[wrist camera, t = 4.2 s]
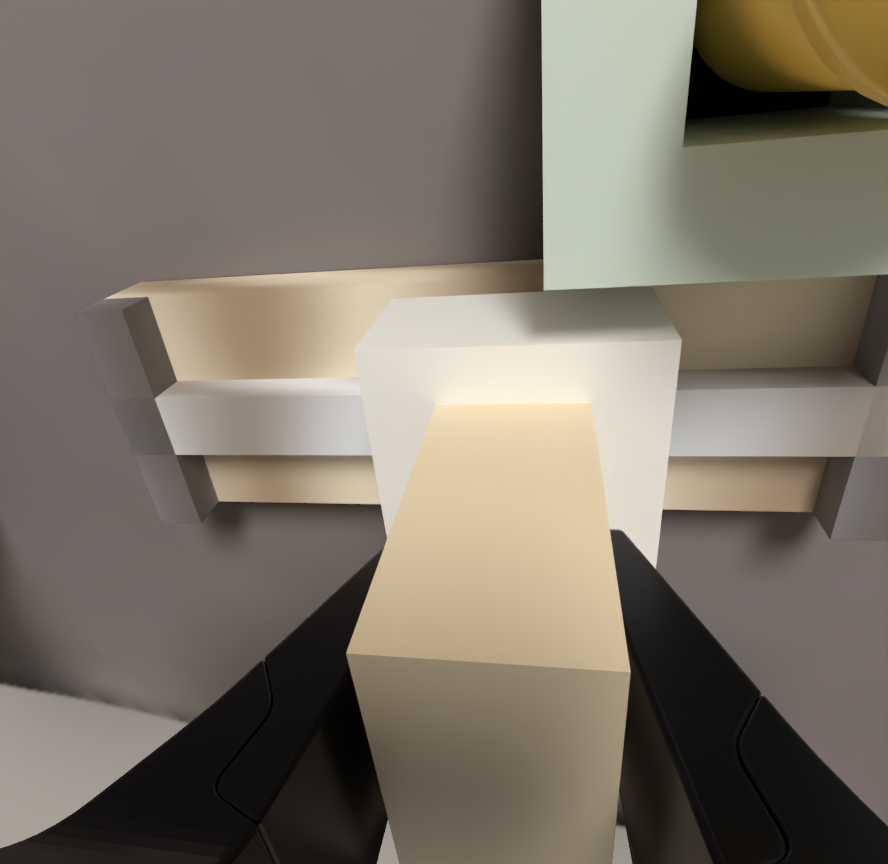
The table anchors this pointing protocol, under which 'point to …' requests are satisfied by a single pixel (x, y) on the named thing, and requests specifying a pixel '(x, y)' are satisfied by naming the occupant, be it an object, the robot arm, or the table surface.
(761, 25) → the button
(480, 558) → the carriage
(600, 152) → the button housing
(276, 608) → the table surface
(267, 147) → the table surface
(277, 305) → the rail
